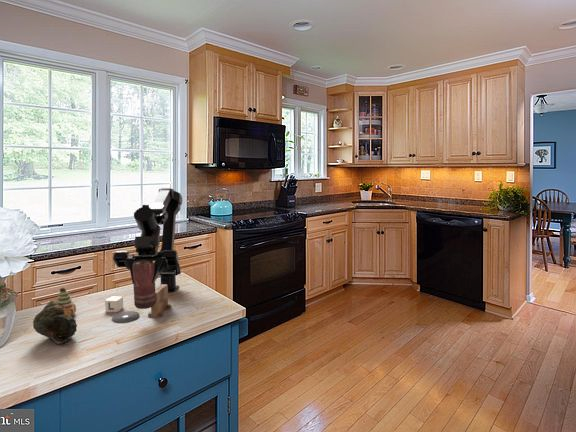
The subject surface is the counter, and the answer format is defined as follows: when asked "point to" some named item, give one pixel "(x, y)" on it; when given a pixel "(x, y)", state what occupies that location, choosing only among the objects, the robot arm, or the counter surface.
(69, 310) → the ornament
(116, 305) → the letter block
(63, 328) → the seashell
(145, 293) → the can
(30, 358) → the counter surface
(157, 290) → the screen
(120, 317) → the coaster
